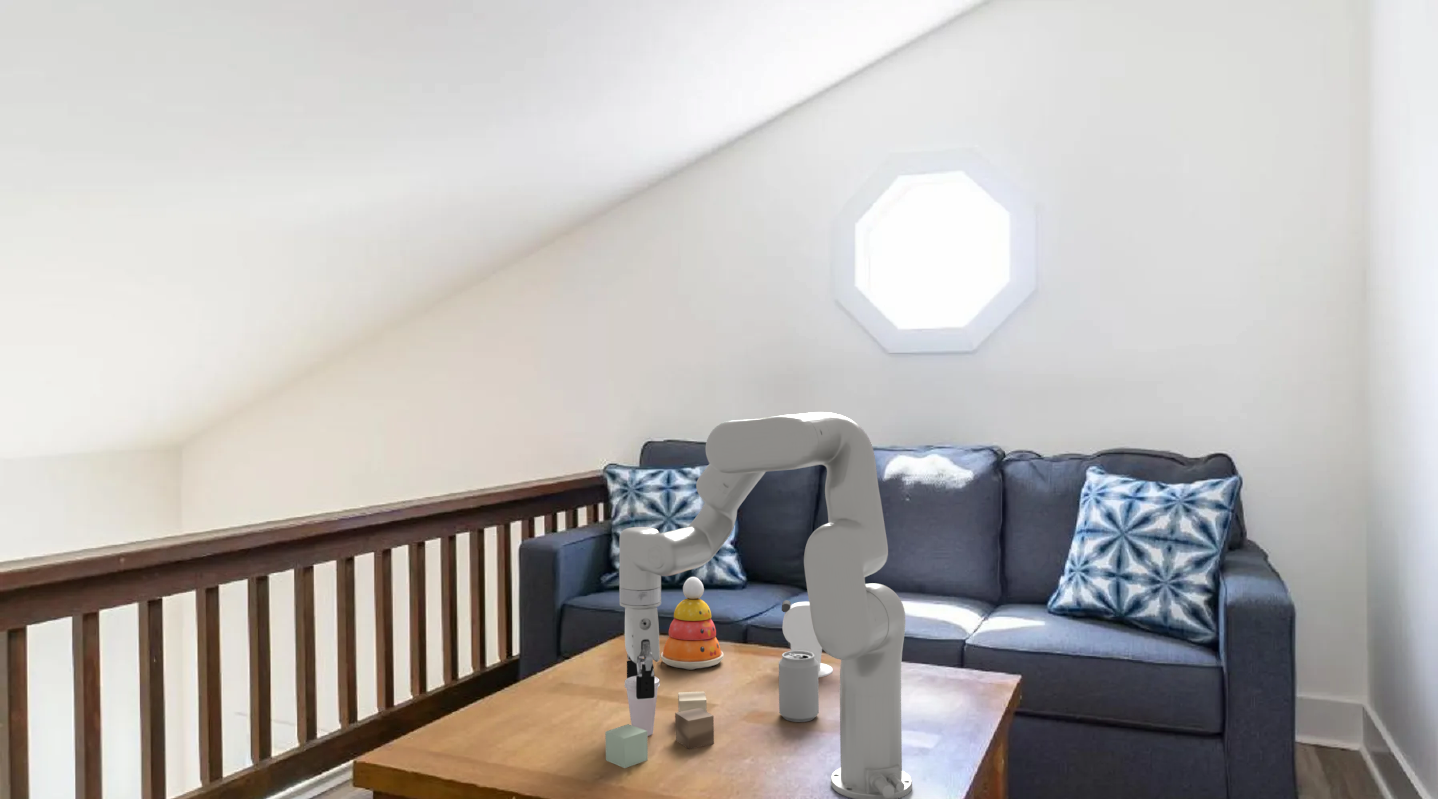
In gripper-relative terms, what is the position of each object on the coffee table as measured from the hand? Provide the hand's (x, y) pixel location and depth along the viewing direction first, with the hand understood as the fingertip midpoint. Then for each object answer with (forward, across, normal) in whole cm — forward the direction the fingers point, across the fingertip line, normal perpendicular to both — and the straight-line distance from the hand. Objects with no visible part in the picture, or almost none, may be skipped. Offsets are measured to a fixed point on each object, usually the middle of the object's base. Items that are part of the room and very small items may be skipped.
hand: (640, 689), depth 184 cm
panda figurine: (+8, +28, -42) cm, 51 cm away
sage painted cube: (+8, -12, +5) cm, 15 cm away
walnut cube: (+8, -7, -8) cm, 14 cm away
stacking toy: (+8, +41, -19) cm, 46 cm away
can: (+8, 0, -30) cm, 31 cm away
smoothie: (+8, 0, 0) cm, 8 cm away
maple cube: (+8, +3, -10) cm, 13 cm away
